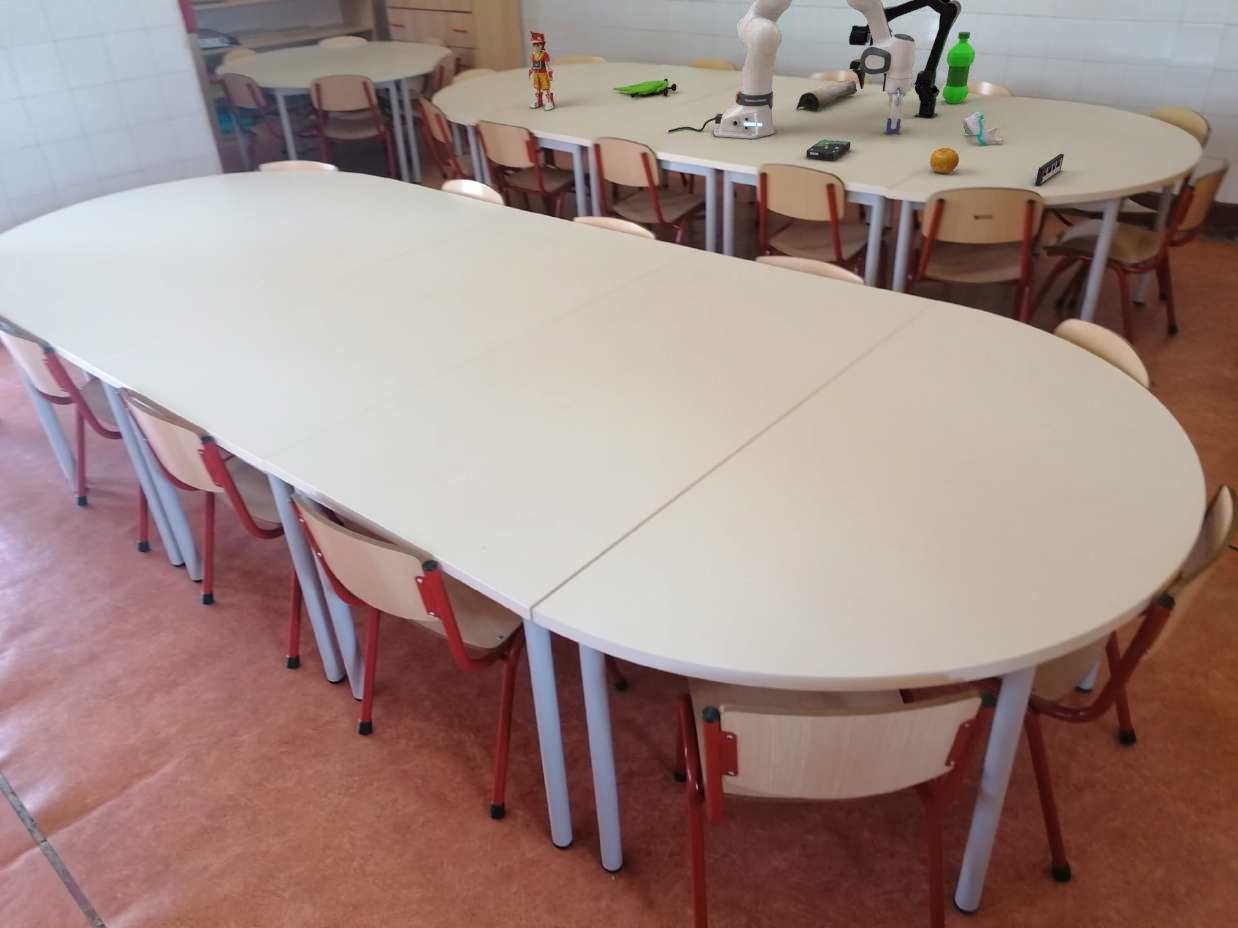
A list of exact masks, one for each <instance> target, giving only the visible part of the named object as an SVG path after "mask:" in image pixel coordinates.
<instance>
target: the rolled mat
mask: <svg viewBox="0 0 1238 928" xmlns="http://www.w3.org/2000/svg"><path fill="white" fill-rule="evenodd" d="M857 92H858V89H857V83H856V81H855V80H850V79H849V80H846V79H845V80H841V81H837V82H834V83H831V84H828V85H826V86H822V87H819V88H817V89H813V90H810V91H807V92H805V93H803V94H801V96H800V97H799V99H798V102H797V105H796V110H799V109H800V108H805V109H806V110H807V111H812V112H817V111H818V110H819V109H821V108H822V107H824V106H825V105H827V104H828V103H830V102H831V101H833V100H835V99H836V98H838V97H841V96H852V95H855V94H856V93H857Z"/></svg>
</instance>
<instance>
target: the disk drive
mask: <svg viewBox="0 0 1238 928" xmlns="http://www.w3.org/2000/svg"><path fill="white" fill-rule="evenodd" d="M850 149H851V141H846V140H837V139H836V140H832V139H826V138H825V139H822V140H819V141H818V142H816V143H815V144H814V145H812V146H810V147H809V148H807V149H806V152H805V153H806V156H805V157H806V158H808V159H815V160H825V161H836V160H838V158H840V157H842V156H843V155H844V154H846V153H847V152H848V151H849V150H850Z"/></svg>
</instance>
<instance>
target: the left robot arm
mask: <svg viewBox="0 0 1238 928" xmlns="http://www.w3.org/2000/svg"><path fill="white" fill-rule="evenodd" d="M792 2H793V0H754V1H753V3H752V5H751V6H750V8H749V9H748V11H747V12H746V14H745V15H744V16H743V17H742V18H741V19H740V20H739V21H738V23H737V26H736V35H737V36H736V37H737V38H738V40H739V42H740V43H741V44H742V46H744V47H746V57H745V61H744V64H743V67H742V69H741V90H737V91H736V92H735V103H734V104H733V105H732V106H730V107H729V108H727V110H726V111H724V113H716V115H715V116H714V117H713V118H712V117H711V118H710V119H708V120H706V121H705V122H704V123H703V125H702V127H701V128H694V127H692V126H680V127H676V128H671V129H668V130H667V131H668V133H672V132H676V131H681V130H691V131H695V132H702V131H704V130H705V128H706V126H707V124H708V123H711V122H713V121H714V124H715V125H717V126H715V128H714V130H713V135H714V136H715V137H721V138H722V137H723V138H736V139H737V138H738V139H750V140H753V139H754V140H755V139H758V138H761V137H766V136H770V135H773V134H774V133H775V132H776V131H775V127H774V120H773V107H774V91H773V77H774V76H773V75H774V65H775V61H776V58H777V53H778V49H779V48H780V46H781V45H782V40H783V34H782V30H781V29H780V27H779V25H778V24H777V23H778V20H779V19H780V18H781V16H782V15H783V14H784V13H785V12H786V11H787V10H788V9H789V8H790V6H791V4H792ZM846 3H847V4H848V6H849V7H850V8H851V9H853V10H855V11H858V12H859V13H861V14H862V15H863V16H864V17H865V20H866V22H867V24H868V25H869V29H870V32H871V33H870V36H871V35H872V39H873V45H871V46H870V45H869V46H870V47H869V46H868V47H867V48H865V49H864V50H863V51H862V53H861V55H860V58H859V59H860V64H861V67H862V69H863V71H864V72H866V73H865V74H867V75H871V76H872V75H880V74H884V73H886V82H885V91H884V92H887V96H888V105H889V118H891V119H892V121H891V129H896V125H897V121H898V119H901V118H902V114H903V106H904V105H903V104H904V97H906V96H907V93H909V92H911V91H912V81H913V67H914V64H915V58H916V42H915V39H914V38H913V36H912V35H909V34H905V33H895V34H894V35H893V34H892V32H891V31H890V29H891V28H890V26H889V25H890V24H889V22H888V21H887V18H886V14H885V11H884V8H885V7H884V5H883V2H882V0H846ZM901 120H902V119H901Z"/></svg>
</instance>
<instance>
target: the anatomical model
mask: <svg viewBox="0 0 1238 928" xmlns="http://www.w3.org/2000/svg"><path fill="white" fill-rule="evenodd" d="M984 117H985V116H984V114H981V112H979V111H977V110H974V111H972V114H971V116H968V117H964V119H963V120H962V125H963V129H964V133H965V134H966V135H969V136H973V135H974V136H975V138H976V140H977V142H978V143H979V144H980V145H982V146H985V145H988V144H991V143H992V144H993V143H997V144H998V143H1001V142H1002V141H1003V139H1002V138H998V137H996V136H995V133H996V132H997V131H998V130H999V127H996V126H995V127H993V128H991V129H989V130H988V129H987V128H985V126H984V122H985V121H986V120H985V118H984Z"/></svg>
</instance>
